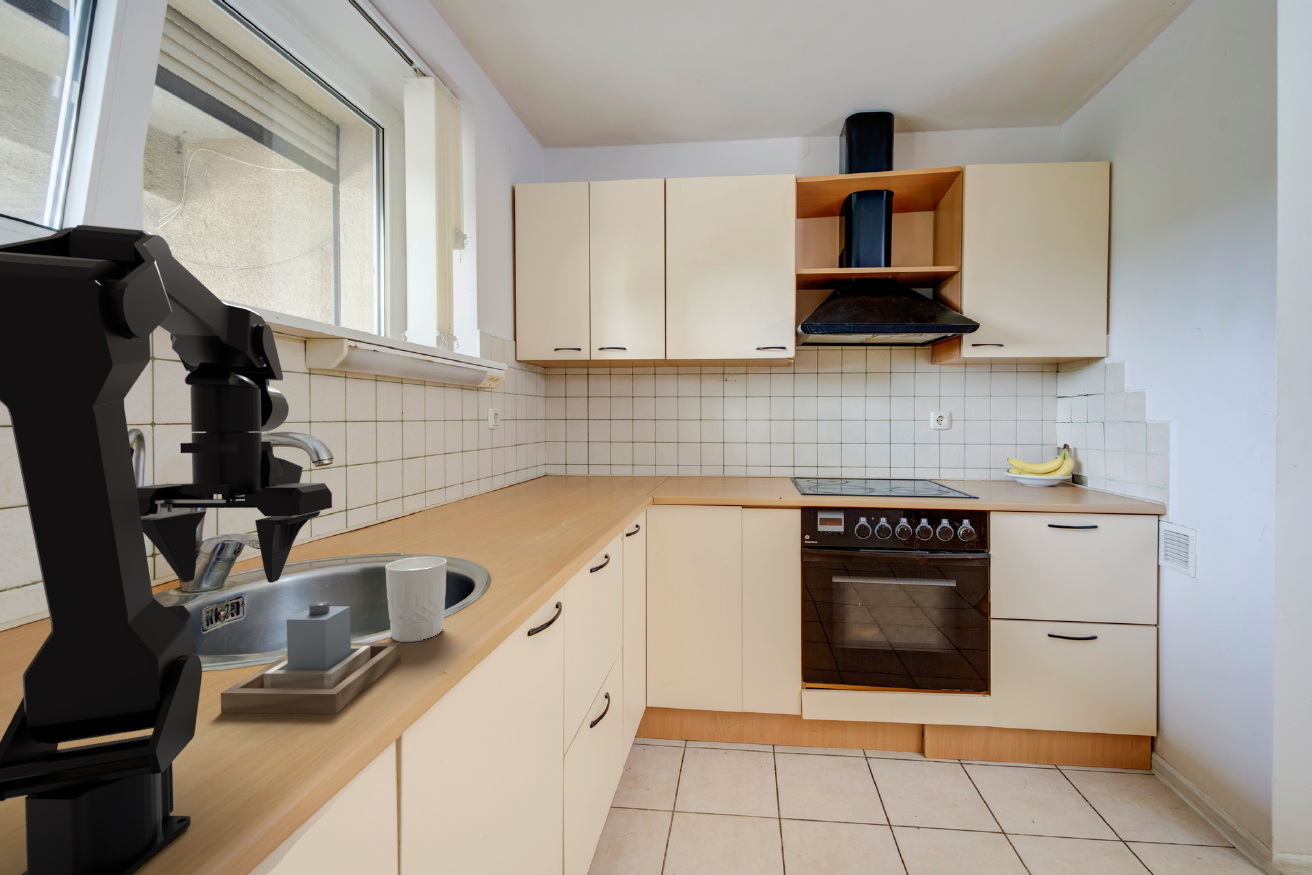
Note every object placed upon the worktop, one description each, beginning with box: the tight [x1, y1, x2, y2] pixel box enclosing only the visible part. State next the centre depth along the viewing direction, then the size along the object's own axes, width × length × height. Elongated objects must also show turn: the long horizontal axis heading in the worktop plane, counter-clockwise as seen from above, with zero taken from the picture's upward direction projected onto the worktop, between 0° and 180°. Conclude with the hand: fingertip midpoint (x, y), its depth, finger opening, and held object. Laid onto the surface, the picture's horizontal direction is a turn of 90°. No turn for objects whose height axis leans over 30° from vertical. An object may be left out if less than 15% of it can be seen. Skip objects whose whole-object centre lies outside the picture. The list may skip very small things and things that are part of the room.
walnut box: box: [220, 642, 402, 715], centre depth 61 cm, size 13×12×2 cm
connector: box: [286, 601, 352, 671], centre depth 63 cm, size 4×4×8 cm
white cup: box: [385, 556, 448, 643], centre depth 76 cm, size 8×8×10 cm
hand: (230, 581), depth 56 cm, fingers open, 9 cm apart
